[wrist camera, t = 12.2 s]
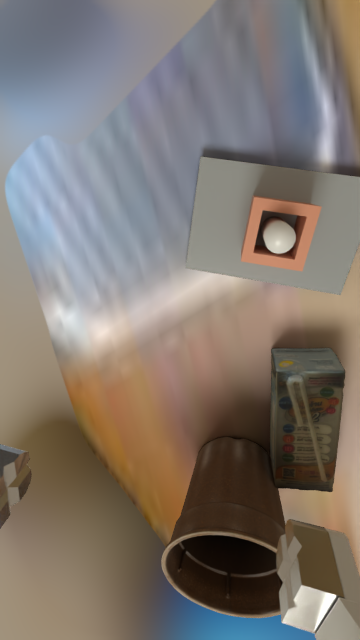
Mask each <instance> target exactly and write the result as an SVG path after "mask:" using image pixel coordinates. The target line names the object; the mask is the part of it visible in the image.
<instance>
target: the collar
mask: <svg viewBox="0 0 360 640" xmlns="http://www.w3.org/2000/svg"><path fill="white" fill-rule="evenodd" d="M321 208H322V207H321V206H318V205H314V204H311V203H304V202H296V201H289V200H282V199H275V198H268V197H261V196H254V195H253V197H252V202H251V207H250V211H249V216H248V221H247V226H246V231H245V235H244V240H243V245H242V250H241V261H242V262H248V263H254V264H260V265H266V266H272V267H278V268H284V269H290V270H296V271H303V268H304V264H305V261H306V258H307V254H308V251H309V248H310V244H311V241H312V238H313V234H314V231H315V228H316V224H317V221H318V218H319V214H320V211H321ZM263 210H265V211H272V212H279V213H286V214H292V215H297V219H296V222H295V226H294V231H295V234H296V240H295V243H294V245H293V247H292V248H291V249H290V250H289V251H287V252H285V253H281V254H277V253H273V252H271V251H270V250H269V249H268V248H267V246H260V245H255V242H256V238H257V233H258V229H259V224H260V220H261V215H262V211H263Z"/></svg>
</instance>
